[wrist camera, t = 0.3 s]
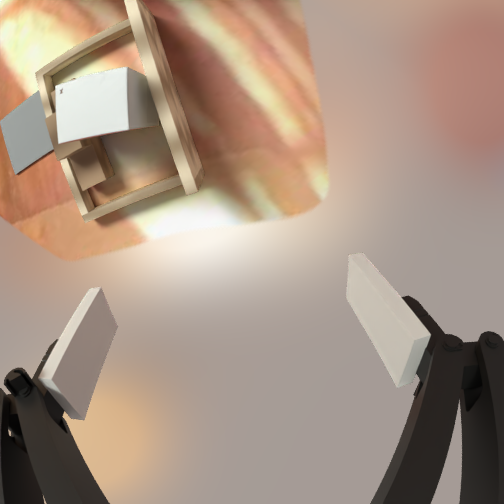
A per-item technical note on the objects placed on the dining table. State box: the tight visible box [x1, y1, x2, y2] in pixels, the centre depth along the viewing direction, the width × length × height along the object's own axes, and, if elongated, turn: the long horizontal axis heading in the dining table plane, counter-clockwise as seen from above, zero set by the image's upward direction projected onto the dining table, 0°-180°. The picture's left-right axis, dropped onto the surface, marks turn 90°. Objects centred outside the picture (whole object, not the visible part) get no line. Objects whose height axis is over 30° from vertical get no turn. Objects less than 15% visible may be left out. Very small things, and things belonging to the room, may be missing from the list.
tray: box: [35, 0, 205, 223], centre depth 28 cm, size 24×18×10 cm
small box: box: [55, 67, 159, 144], centre depth 27 cm, size 8×6×13 cm
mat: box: [0, 91, 54, 175], centre depth 31 cm, size 10×10×1 cm
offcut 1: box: [45, 112, 92, 161], centre depth 29 cm, size 6×4×3 cm, turn 16°
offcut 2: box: [69, 136, 115, 191], centre depth 33 cm, size 7×4×4 cm, turn 17°
